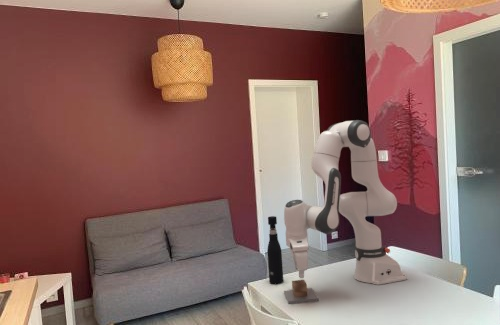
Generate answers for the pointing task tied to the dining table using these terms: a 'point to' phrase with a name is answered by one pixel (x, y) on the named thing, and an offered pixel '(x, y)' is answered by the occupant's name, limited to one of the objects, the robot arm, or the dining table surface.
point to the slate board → (309, 298)
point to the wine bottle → (274, 254)
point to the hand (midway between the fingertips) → (299, 273)
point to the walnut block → (299, 288)
